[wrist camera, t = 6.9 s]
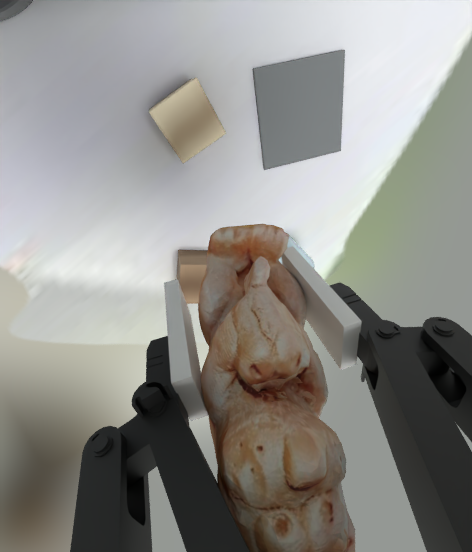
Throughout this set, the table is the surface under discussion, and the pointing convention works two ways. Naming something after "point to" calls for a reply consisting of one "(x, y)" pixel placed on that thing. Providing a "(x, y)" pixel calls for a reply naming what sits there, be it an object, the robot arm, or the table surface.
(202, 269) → the walnut block
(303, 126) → the grey mat
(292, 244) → the pale blue rounded block
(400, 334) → the robot arm
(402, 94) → the table surface
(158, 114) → the beech block
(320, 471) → the figurine
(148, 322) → the table surface
